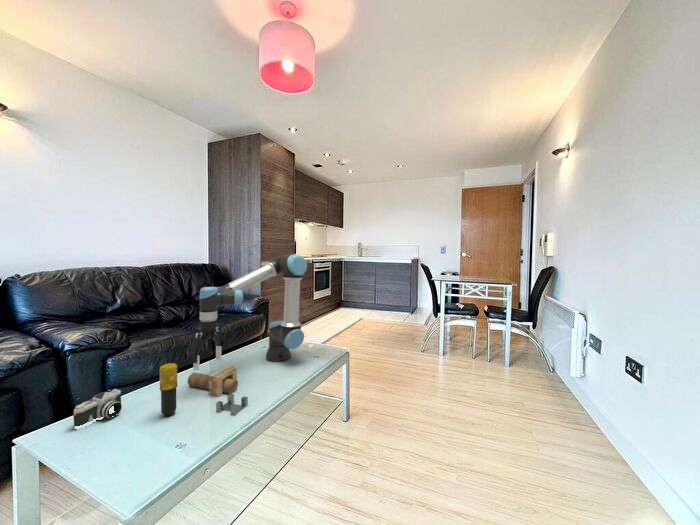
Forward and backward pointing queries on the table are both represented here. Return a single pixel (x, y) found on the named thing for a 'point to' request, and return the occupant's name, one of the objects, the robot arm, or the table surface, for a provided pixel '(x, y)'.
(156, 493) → the table surface
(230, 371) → the wooden arch block
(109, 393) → the camera
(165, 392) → the microphone
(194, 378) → the axle
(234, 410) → the grey h-shaped block
